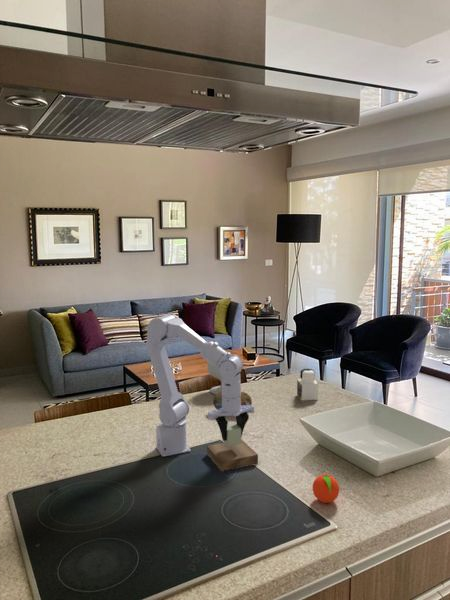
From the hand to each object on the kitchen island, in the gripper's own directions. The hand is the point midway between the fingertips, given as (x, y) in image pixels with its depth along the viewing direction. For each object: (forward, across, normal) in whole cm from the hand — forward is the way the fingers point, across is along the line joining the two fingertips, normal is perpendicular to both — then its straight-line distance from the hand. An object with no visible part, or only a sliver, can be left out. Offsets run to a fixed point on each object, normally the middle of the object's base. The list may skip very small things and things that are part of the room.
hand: (231, 437), depth 154 cm
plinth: (+7, 0, 0) cm, 7 cm away
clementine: (+7, +13, -32) cm, 35 cm away
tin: (+7, +16, +36) cm, 40 cm away
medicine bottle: (+7, +51, +38) cm, 64 cm away
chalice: (+7, +22, +60) cm, 64 cm away
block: (+2, 0, 0) cm, 2 cm away
